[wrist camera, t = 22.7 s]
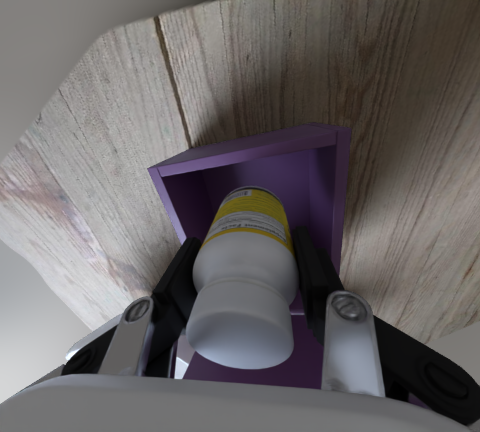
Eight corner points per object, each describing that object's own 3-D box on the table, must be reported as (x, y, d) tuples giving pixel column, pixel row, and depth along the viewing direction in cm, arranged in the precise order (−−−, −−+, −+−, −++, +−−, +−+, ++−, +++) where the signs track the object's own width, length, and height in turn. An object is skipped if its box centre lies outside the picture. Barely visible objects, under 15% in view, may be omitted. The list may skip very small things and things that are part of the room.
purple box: (190, 148, 20) (146, 168, 13) (314, 121, 18) (352, 127, 10) (226, 261, 29) (212, 314, 21) (315, 255, 26) (336, 313, 18)
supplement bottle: (268, 248, 16) (272, 389, 8) (213, 227, 16) (156, 353, 8) (297, 198, 14) (350, 334, 5) (232, 172, 13) (175, 273, 5)
